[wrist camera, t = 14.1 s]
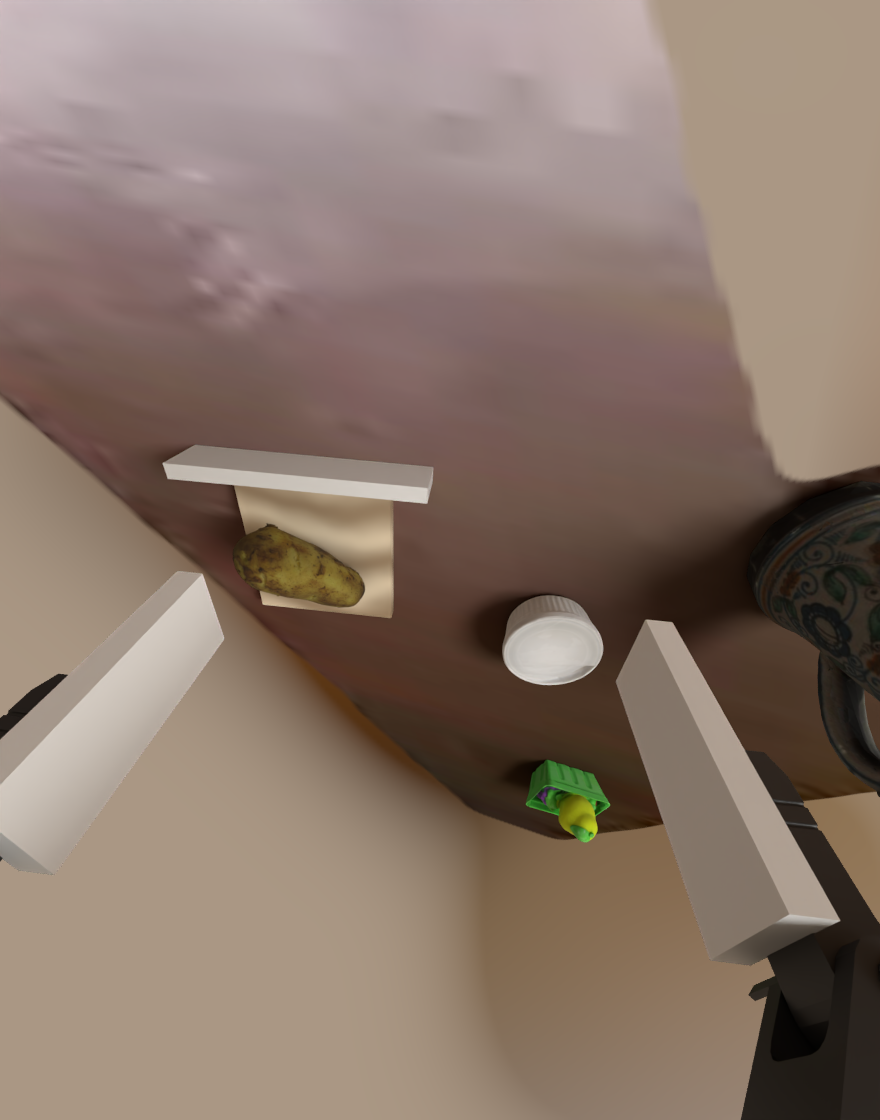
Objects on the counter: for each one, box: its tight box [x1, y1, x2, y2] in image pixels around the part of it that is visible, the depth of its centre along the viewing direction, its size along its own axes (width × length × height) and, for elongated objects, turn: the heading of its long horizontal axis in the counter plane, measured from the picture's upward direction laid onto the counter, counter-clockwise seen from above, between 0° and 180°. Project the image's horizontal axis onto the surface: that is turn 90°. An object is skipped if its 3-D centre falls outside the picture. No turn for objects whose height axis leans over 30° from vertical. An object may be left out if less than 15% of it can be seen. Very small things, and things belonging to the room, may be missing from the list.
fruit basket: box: [526, 760, 610, 842], centre depth 64 cm, size 11×9×11 cm
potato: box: [233, 523, 365, 608], centre depth 42 cm, size 8×13×8 cm, turn 30°
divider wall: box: [163, 445, 433, 504], centre depth 38 cm, size 2×24×5 cm, turn 86°
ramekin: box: [502, 595, 603, 685], centre depth 48 cm, size 11×11×5 cm
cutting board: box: [234, 485, 393, 618], centre depth 46 cm, size 17×16×2 cm
